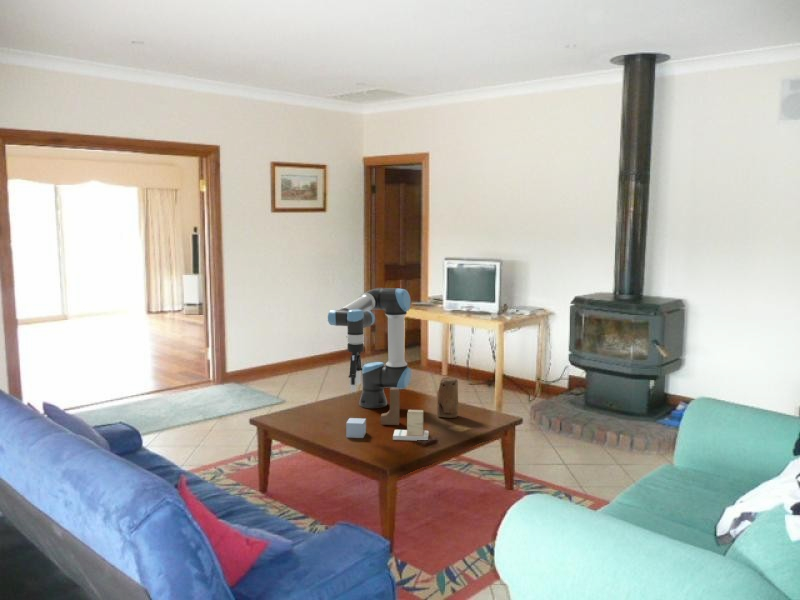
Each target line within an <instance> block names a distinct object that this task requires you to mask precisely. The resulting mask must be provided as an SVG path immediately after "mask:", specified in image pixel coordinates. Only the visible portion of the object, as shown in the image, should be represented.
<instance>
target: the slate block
mask: <svg viewBox="0 0 800 600" xmlns="http://www.w3.org/2000/svg"><path fill="white" fill-rule="evenodd" d="M345 425H346V426H345V427H346V428H345V429H346V430H345V431H346V432H345V433H346V434H345V435H346V438H349V439H351V438H353V439H354V438H355V439H363V438H364V437H365V435H366V434H367V418H360V417H358V418H357V417H355V418H354V417H349V418H348V419H347V420H346V423H345Z"/></svg>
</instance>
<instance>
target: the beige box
mask: <svg viewBox="0 0 800 600" xmlns="http://www.w3.org/2000/svg"><path fill="white" fill-rule="evenodd" d="M406 414H407V415H406V418H407V419H406V421H407V422H406V430H407V435H422V434H423V430H424V409H407V413H406Z"/></svg>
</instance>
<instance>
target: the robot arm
mask: <svg viewBox="0 0 800 600" xmlns="http://www.w3.org/2000/svg"><path fill="white" fill-rule="evenodd" d="M411 301H412V299H411V296H410V293H409V292H408V290H407V289H405V288H398V287H397V288H396V287H376V288H373V289H370V290H367V291H366V292H363V293H362V294H361V295H359V298H357V299H355V300H353V301H352V302H350V303H348V304H347V305H345V306H344V307H342V308H340V309H331V310H329V311H328V313H327V314H328V315H327V322H328V324H329V325H331V326H336V327H339V326H340V327H347V335H346V336H345V337H346V339H347V348H346V349H347V352H349V353H351V355H350V362H349V363H350V366H349V375H348V378H350V380H349V383H350V385H349V386H350V387H349V388H350V390H349V392H357V385H359V386H360V385H362V386H361V387H362V390H361V391H362V392H361V395H360V399H359V401H358V402H359V404H358V405H359V407H361V408H364V409H381V408H384V407H387V405H388V399H387V397H386V394H385V391H384V390H385V388H386V389H387V388H388V389H390V388H391V387H392V388H399V390H405V389H406V388H408V386H409V385H410V382H411V378H412V370H411V368H410V367H408V363H407V362H406V360H405V316H406V315H407V312H409V311H410V309H411V304H412V303H411ZM372 310H381V311H384V314H385V316H386V317H387V347H388V348H387V352H388V353H387V354H388V356H387V357H388V360H387V362H386V363H384V362H381V361H374V362H368V363H365V364H364V365H363V366H362V358H361V353H362V352H364V349H365V347H364V346H365V345H364V344H365V343H364V342H365V340H364V339H365V338H364V335H365V333H364V329H366V328H369V327H371V326H372V325H373V324H375V320H376V317H375V316H376V315H375V314H374V313H373V312H372Z"/></svg>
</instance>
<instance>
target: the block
mask: <svg viewBox="0 0 800 600" xmlns="http://www.w3.org/2000/svg"><path fill="white" fill-rule="evenodd" d="M458 384H459V383H458V378H457V377H450V376H449V377H442V378H441V380H440V383H439V387H438V390H437V393H436V412H437V414H436V415H437V417H439V418H447V419H449V418H450V419H454V418H457V417H458V414H459V385H458Z"/></svg>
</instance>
